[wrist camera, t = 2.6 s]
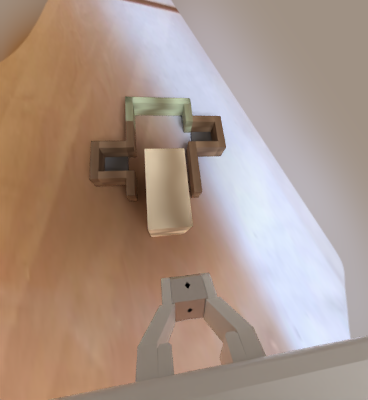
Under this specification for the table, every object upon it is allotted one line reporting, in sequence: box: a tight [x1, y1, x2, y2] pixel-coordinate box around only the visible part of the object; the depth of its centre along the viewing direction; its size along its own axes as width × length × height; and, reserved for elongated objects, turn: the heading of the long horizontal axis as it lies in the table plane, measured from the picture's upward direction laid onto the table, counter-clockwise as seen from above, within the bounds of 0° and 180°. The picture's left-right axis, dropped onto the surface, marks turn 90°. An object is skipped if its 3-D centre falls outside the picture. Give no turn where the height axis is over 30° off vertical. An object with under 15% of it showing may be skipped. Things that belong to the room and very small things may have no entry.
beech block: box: [144, 148, 193, 237], centre depth 26 cm, size 5×10×9 cm, turn 5°
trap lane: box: [89, 97, 226, 201], centre depth 31 cm, size 22×18×3 cm
